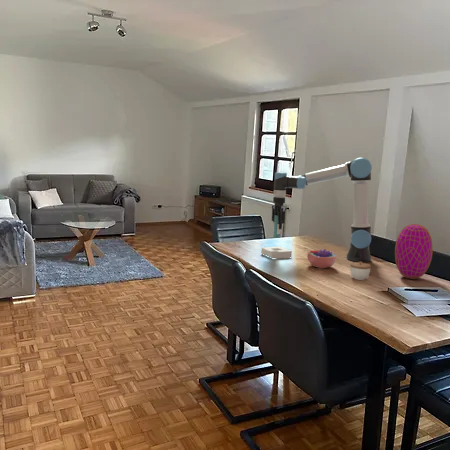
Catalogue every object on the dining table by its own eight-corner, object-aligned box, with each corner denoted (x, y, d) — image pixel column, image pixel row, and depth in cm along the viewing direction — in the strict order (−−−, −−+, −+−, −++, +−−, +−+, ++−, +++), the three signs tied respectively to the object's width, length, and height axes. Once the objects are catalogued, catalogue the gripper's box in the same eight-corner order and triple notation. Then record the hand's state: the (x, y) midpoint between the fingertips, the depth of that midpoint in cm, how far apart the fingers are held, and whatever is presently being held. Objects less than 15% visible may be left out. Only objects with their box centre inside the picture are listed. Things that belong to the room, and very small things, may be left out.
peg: (281, 237, 299) (283, 216, 297) (275, 238, 297) (276, 216, 295) (278, 236, 303) (279, 214, 301) (272, 236, 301) (273, 215, 299)
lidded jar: (359, 282, 249) (360, 264, 248) (345, 276, 259) (346, 260, 257) (373, 280, 254) (375, 263, 253) (359, 274, 264) (361, 258, 262)
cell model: (333, 263, 287) (334, 245, 285) (337, 272, 268) (339, 252, 266) (305, 262, 289) (306, 244, 287) (307, 270, 269) (309, 251, 267)
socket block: (291, 257, 299) (291, 251, 298) (272, 259, 293) (272, 252, 292) (280, 253, 311) (280, 246, 311) (261, 254, 306) (261, 247, 305)
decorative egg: (431, 277, 264) (437, 224, 260) (426, 285, 248) (432, 229, 243) (396, 271, 274) (401, 220, 269) (389, 278, 257) (394, 224, 252)
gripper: (267, 195, 302) (265, 231, 306) (281, 198, 287) (278, 236, 290) (277, 195, 305) (275, 230, 309) (291, 198, 290) (289, 235, 293)
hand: (277, 233), depth 300 cm, fingers closed on peg, 4 cm apart
